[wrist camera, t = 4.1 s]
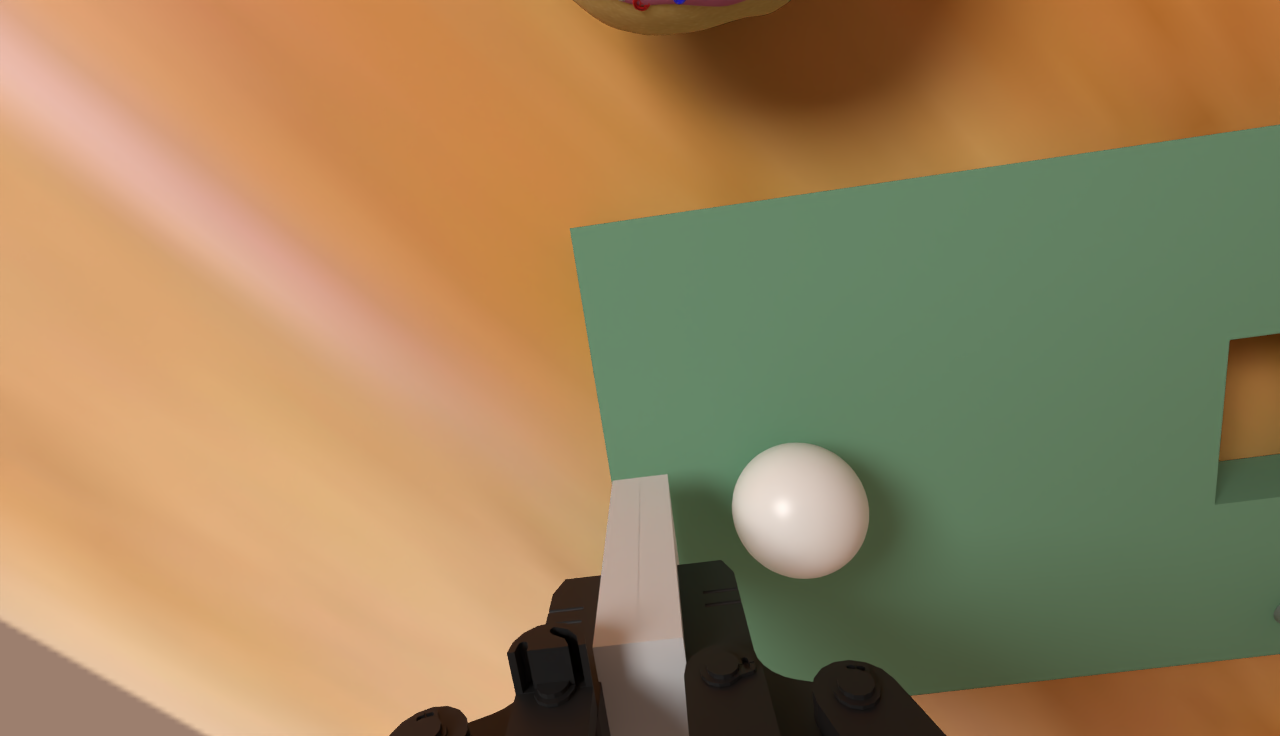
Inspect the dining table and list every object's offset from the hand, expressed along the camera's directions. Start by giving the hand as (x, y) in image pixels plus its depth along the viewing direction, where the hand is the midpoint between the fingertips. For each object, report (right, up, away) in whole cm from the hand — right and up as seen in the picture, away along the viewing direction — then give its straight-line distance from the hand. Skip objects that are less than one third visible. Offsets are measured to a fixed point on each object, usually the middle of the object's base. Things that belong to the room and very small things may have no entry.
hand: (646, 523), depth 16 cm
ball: (+4, 0, 0) cm, 4 cm away
